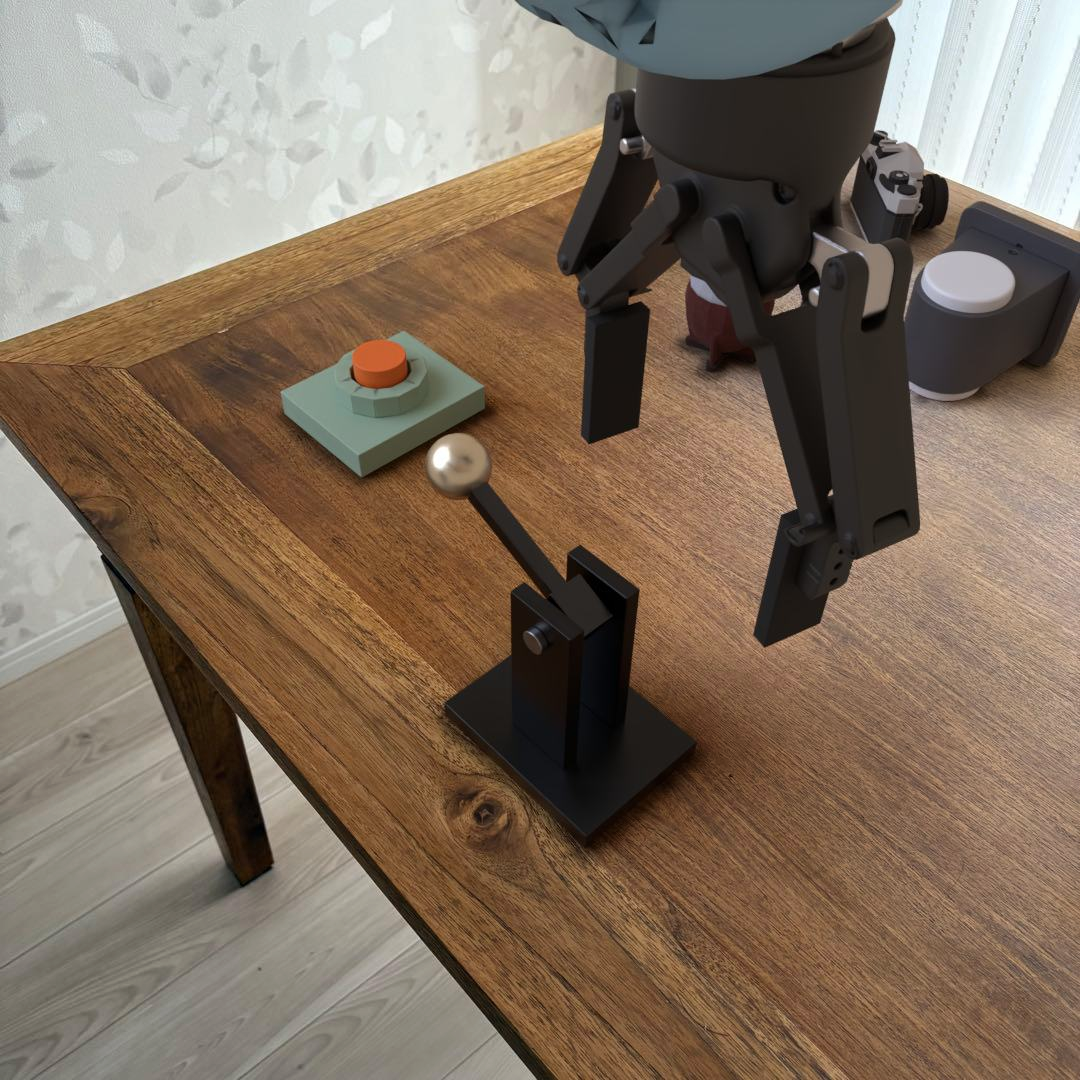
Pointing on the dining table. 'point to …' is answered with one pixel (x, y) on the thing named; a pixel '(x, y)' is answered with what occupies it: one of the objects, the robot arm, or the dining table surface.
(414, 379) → the button box
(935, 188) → the camera
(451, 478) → the switch lever
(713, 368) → the mate gourd
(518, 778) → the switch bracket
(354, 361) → the button
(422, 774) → the dining table surface
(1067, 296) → the light fixture
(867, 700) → the dining table surface
